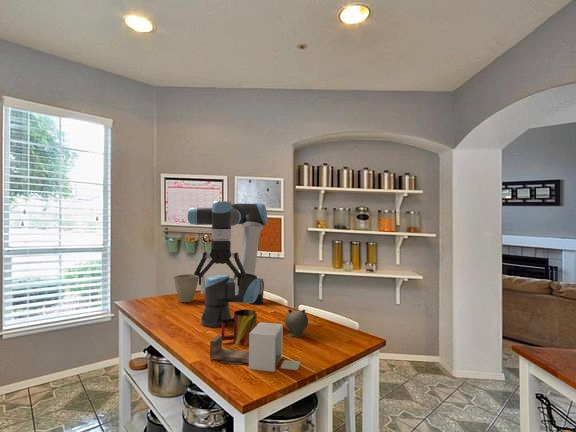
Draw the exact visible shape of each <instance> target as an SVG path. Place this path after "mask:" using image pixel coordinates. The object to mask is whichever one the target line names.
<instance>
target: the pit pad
mask: <svg viewBox="0 0 576 432" xmlns="http://www.w3.org/2000/svg"><path fill="white" fill-rule="evenodd" d="M219 363H221V364H222V363H223V364H230V365H239V366H242V365H243V364H244V363H243V362H235V361H226V360H219Z"/></svg>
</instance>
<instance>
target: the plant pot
mask: <svg viewBox="0 0 576 432" xmlns="http://www.w3.org/2000/svg"><path fill="white" fill-rule="evenodd" d="M173 278H174V279H173V280H174V286H175V291H176V292H175V293H176V295H177V298H178V300H179V303H182V302H188V303H191V301H192V302H193V299H194V297H195V294H196V291H197V287H198V285H199V277H198V276H197V275H194V273H191V274H190V273H185V274H183V273H182V274H177V275H174V276H173Z"/></svg>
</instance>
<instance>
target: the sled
mask: <svg viewBox="0 0 576 432" xmlns="http://www.w3.org/2000/svg"><path fill="white" fill-rule="evenodd" d="M221 335H222V334H221ZM221 335H220V334H219V335H218V334H217V335H215V337H213V338H212V339H210V340H209V343H210V344H209V359H210V360H211V359H212V360H218V361H221V360H226V361H235V362H243V364H244V363H245V364H249V351H246V350H244V351H243V350H234V349H228V348H223V341H222V336H221ZM280 360H281V359H280V355H276V353H275V367H277V366H278V364H279V362H280Z"/></svg>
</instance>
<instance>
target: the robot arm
mask: <svg viewBox="0 0 576 432" xmlns="http://www.w3.org/2000/svg"><path fill="white" fill-rule="evenodd" d="M187 222H188V223H189V225H196V226H200V225H201V226H211V243H210V245H211V247H210V252H208V251H204V252H202V258H201V259H200V262H199V263H198V265H197V267H196V269H195V271H194V273H193V274H194V275H197V276H198V277H199V278H198V286H200V295H204V309H203V311H202V315H201V317H200V324H201V325H202V326H204V327H208V328H220V327H221V328H222V319H227V318H233V315H232V313H231V310H230V307H229V303H237V304H238V303H239V304H249V303H253V302H255V301H256V299H257V297H258V294H259V289H260V281H259V280H258V279H257V278H258V275H257V274H256V266H257V257H258V249H259V243H260V235H261V234H260V233H261V231H262V230H263V229H264V226H265V225H268V211H267V208H266V205H265V204H264V203H239V202H237V203H232V202H230V201H225V200H224V201H223V200H215V201H213V202H212V207H209V206H208V207H190V208H189V209H188V211H187ZM237 225H241V226H242V228H243V235H242V243H241V249H240V255H239V252H237V251H236V252H233V253H232V252H231V249H232V248H231V247H232V246H231V244H232V242H231V239H232V226H233V227H234V226H237ZM209 257H210V258H211V260H210V261H209V262H208V264H207V265H206V266H205V267H204V265H205V263H206V261H207V259H208V258H209ZM231 257H232V259H234V262H235V263H236V265H237V267H238V268H237V267H236V266H235V265H234V264H233V261H232V260H231ZM214 264H215V265H216V264H217V265H218V264H221V265H224V264H226V265H227V266H228V267H229V269H230V270H231V271H232V273H234V275H233V278H231V277H230V275H229V274H218V275H212V276H209V277H207V278H206V276H204V275H205V274H206V273H207V272H209V271H208V270H210V269H211V267H212V266H213V265H214ZM203 267H204V268H203ZM230 324H231V323H224V327H226V326H228V325H230Z"/></svg>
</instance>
